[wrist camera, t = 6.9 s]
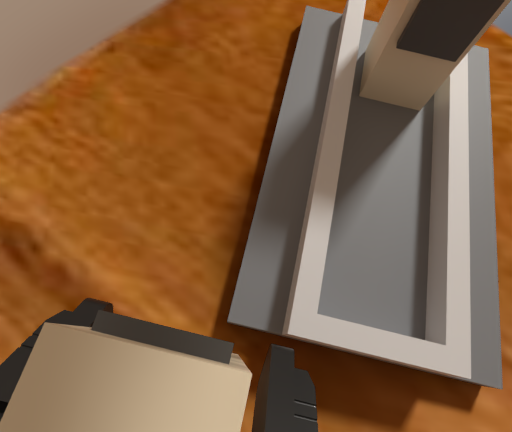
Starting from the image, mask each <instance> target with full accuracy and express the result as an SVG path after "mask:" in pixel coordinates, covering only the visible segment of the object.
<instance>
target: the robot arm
mask: <svg viewBox="0 0 512 432" xmlns="http://www.w3.org/2000/svg"><path fill="white" fill-rule="evenodd" d="M98 310H102V311H106V312H110V313H113V305H112V303H108V302H104V301H100V300H96V299H92V298H86V299H85V300H84V301H83V302H82V303H81V304H80V305H79V306H78V307H77V308H76V309H75V310H74V311H73V312H71V311H66V310H64V311H62V312H60V313H58V314H56V315H54V316H53V317H51V318H49V319H47V320H46V321H45V322H47V323H56V324H65V325H74V326H83V327H92V326H93V323H94V321H95V318H96V315H97V313H98ZM45 322H44V323H45ZM44 323H43V324H42V325H41V326H40V327H39V328H38V329H37V330H36V331H35V332H34V333H33V335H32V336H29V337H28V338H27V339H26V340H25V341H24V342H23V343H22V344H21V347H20V348H19V347H18V348H17V349H16V350H15V351H14V352H13V353H12V354H11V355H10V356H9V357H8V358H7V359H6V360H5V361H4V362H3V363H2V364H1V365H0V421H1V419H2V417H3V415H4V412H5V410H6V408H7V406H8V403H9V401H10V399H11V397H12V394H13V392H14V390H15V388H16V386H17V383H18V381H19V379H20V377H21V374H22V372H23V370H24V368H25V365H26V363H27V361H28V359H29V356H30V354H31V352H32V350H33V347H34V345H35V343H36V341H37V339H38V336H39V334H40V332H41V330H42V327H43V325H44ZM252 432H318V423H317V408H316V394H315V386H314V384H313V382H312V380H311V378H310V375H309V373H308V371H305V370H301V369H297V368H294V349H292V348H287V347H283V346H279V345H275V344H270V347H269V350H268V353H267V356H266V359H265V362H264V366H263V369H262V372H261V375H260V379H259V383H258V388H257V393H256V400H255V408H254V417H253V425H252Z"/></svg>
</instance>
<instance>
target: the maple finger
mask: <svg viewBox="0 0 512 432" xmlns="http://www.w3.org/2000/svg"><path fill="white" fill-rule="evenodd" d="M233 346H234V343H231V342H227V341H223V340H219V339H215V338H211V337H207V336H203V335H199V334H195V333H191V332H187V331H183V330H179V329H175V328H171V327H167V326H163V325H159V324H155V323H151V322H147V321H143V320H139V319H135V318H131V317H127V316H123V315H118V314H114V313H110V312H106V311H102V310H98V313H97V315H96V318H95V321H94V323H93V326H92V327H83V326H74V325H65V324H56V323H47V322H45V323H44V325H43V327H42V330H41V332H40V334H39V336H38V339H37V341H36V343H35V345H34V347H33V350H32V352H31V354H30V356H29V359H28V361H27V363H26V365H25V368H24V370H23V372H22V374H21V377H20V379H19V381H18V383H17V386H16V388H15V390H14V392H13V394H12V397H11V399H10V401H9V403H8V406H7V408H6V410H5V412H4V415H3V417H2V419H1V421H0V432H240V430H241V425H242V420H243V415H244V411H245V406H246V401H247V397H248V392H249V387H250V382H251V378H252V373H251V372H250V370H249V369H248V368H247V366H246V365H245V363H244V362H243V361H242V359H241V358H240V357H239V355H238V354H234V353H232V350H233Z"/></svg>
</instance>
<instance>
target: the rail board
mask: <svg viewBox="0 0 512 432" xmlns="http://www.w3.org/2000/svg"><path fill="white" fill-rule="evenodd" d="M510 1H511V0H389V2H388V4H387V6H386V8H385V10H384V13H383V15H382V17H381V19H380V21H379V23H377V22H373V21H369V20H365V19H363V16H364V10H365V3H366V0H347V3H346V6H345V9H344V12H343V14H339V13H335V12H331V11H327V10H322V9H318V8H314V7H310V6H306V10H305V14H304V18H303V22H302V26H301V30H300V34H299V38H298V42H297V46H296V49H295V53H294V57H293V61H292V65H291V69H290V73H289V77H288V81H287V85H286V89H285V93H284V97H283V101H282V105H281V109H280V113H279V117H278V121H277V125H276V129H275V133H274V137H273V141H272V145H271V149H270V153H269V157H268V161H267V165H266V169H265V173H264V177H263V181H262V185H261V189H260V193H259V197H258V201H257V205H256V209H255V213H254V217H253V221H252V225H251V229H250V233H249V237H248V241H247V245H246V249H245V252H244V256H243V260H242V264H241V268H240V272H239V276H238V280H237V284H236V288H235V292H234V296H233V300H232V304H231V308H230V312H229V316H228V320H227V323H230V324H234V325H238V326H242V327H246V328H251V329H255V330H259V331H263V332H267V333H271V334H275V335H279V336H283V337H287V338H291V339H295V340H299V341H303V342H307V343H311V344H315V345H319V346H323V347H327V348H331V349H335V350H339V351H343V352H347V353H351V354H355V355H360V356H364V357H368V358H372V359H376V360H380V361H384V362H388V363H392V364H396V365H400V366H404V367H408V368H412V369H416V370H420V371H424V372H428V373H432V374H436V375H440V376H444V377H448V378H452V379H456V380H460V381H464V382H469V383H473V384H477V385H481V386H486V387H492V388H497V389H503V387H502V363H501V339H500V315H499V291H498V268H497V244H496V220H495V196H494V172H493V148H492V125H491V101H490V77H489V53H488V48H483V47H479V46H475V43H476V42H477V41H478V40H479V39H480V37H481V36H482V35H483V34H484V33H485V31H486V30H487V29H488V28H489V26H490V25H491V24H492V23H493V22H494V20H495V19H496V18H497V17H498V16H499V14H500V13H501V12H502V11H503V9H504V8H505V7H506V6H507V5H508V3H509V2H510Z"/></svg>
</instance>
